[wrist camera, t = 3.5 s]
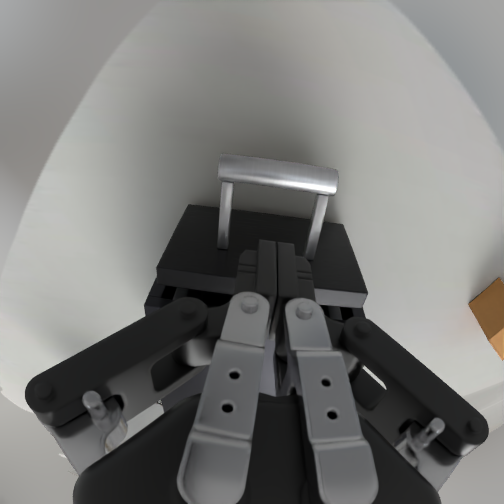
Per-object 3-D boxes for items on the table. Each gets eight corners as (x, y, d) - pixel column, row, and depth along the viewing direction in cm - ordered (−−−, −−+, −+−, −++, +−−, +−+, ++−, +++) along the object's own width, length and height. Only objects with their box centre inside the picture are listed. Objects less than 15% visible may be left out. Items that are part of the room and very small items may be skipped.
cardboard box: (468, 304, 28) (488, 340, 24) (498, 277, 26) (522, 311, 21) (485, 327, 30) (502, 361, 26) (512, 304, 28) (532, 335, 23)
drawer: (191, 129, 20) (151, 166, 13) (361, 153, 20) (402, 201, 14) (188, 331, 30) (171, 398, 24) (304, 345, 30) (309, 413, 24)
